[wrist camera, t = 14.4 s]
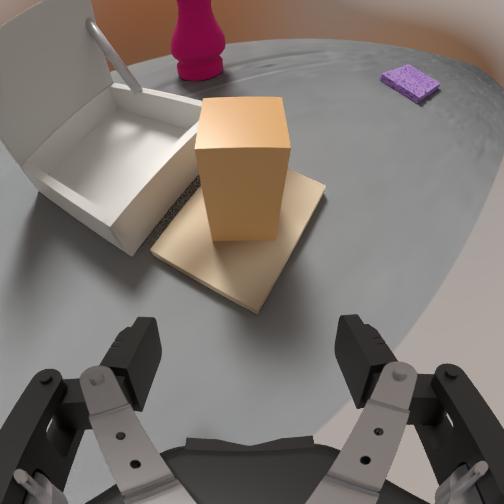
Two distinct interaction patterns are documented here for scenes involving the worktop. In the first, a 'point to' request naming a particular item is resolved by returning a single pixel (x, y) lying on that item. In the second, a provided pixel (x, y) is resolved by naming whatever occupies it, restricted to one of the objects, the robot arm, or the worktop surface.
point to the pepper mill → (197, 41)
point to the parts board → (238, 245)
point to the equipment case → (91, 124)
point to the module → (242, 165)
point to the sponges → (410, 82)
